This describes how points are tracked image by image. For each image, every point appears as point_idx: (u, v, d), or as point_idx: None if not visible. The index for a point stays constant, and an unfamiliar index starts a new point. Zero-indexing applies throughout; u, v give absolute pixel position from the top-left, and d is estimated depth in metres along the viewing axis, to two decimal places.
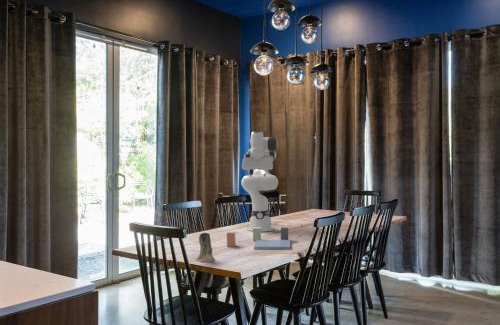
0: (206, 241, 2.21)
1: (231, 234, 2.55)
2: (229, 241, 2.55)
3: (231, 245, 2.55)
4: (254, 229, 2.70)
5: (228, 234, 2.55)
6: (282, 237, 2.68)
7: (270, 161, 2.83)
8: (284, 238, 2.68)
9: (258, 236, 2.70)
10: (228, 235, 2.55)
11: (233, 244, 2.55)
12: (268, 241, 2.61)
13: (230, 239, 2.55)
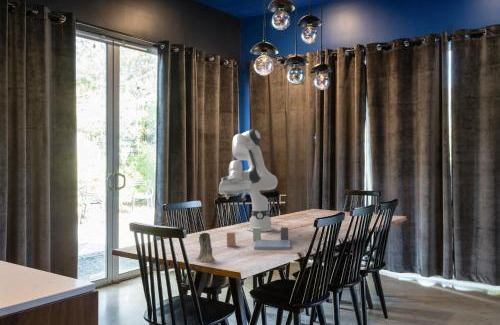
0: (206, 241, 2.21)
1: (231, 234, 2.55)
2: (229, 241, 2.55)
3: (231, 245, 2.55)
4: (254, 229, 2.70)
5: (228, 234, 2.55)
6: (282, 237, 2.68)
7: (248, 183, 2.72)
8: (284, 238, 2.68)
9: (258, 236, 2.70)
10: (228, 235, 2.55)
11: (233, 244, 2.55)
12: (268, 241, 2.61)
13: (230, 239, 2.55)
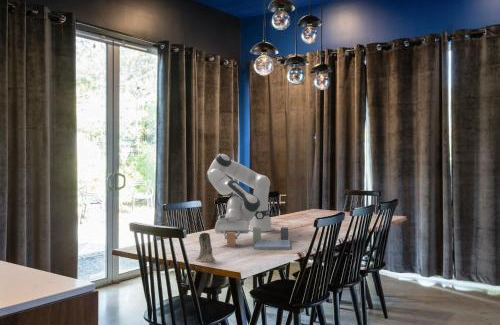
0: (206, 241, 2.21)
1: (231, 234, 2.55)
2: (229, 241, 2.55)
3: (231, 245, 2.55)
4: (254, 229, 2.70)
5: (228, 234, 2.55)
6: (282, 237, 2.68)
7: (246, 223, 2.61)
8: (284, 238, 2.68)
9: (258, 236, 2.70)
10: (228, 235, 2.55)
11: (233, 244, 2.55)
12: (268, 241, 2.61)
13: (230, 239, 2.55)
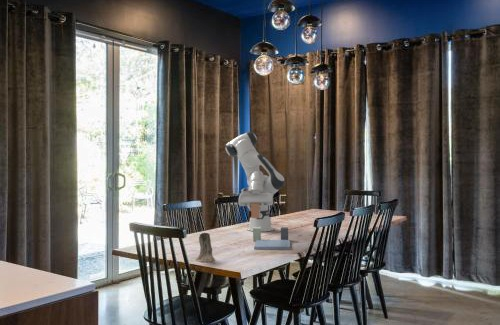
0: (206, 241, 2.21)
1: (255, 205, 2.51)
2: (253, 213, 2.51)
3: (255, 216, 2.51)
4: (254, 229, 2.70)
5: (252, 205, 2.51)
6: (282, 237, 2.68)
7: (270, 195, 2.58)
8: (284, 238, 2.68)
9: (258, 236, 2.70)
10: (252, 206, 2.51)
11: (257, 215, 2.51)
12: (268, 241, 2.61)
13: (254, 210, 2.51)
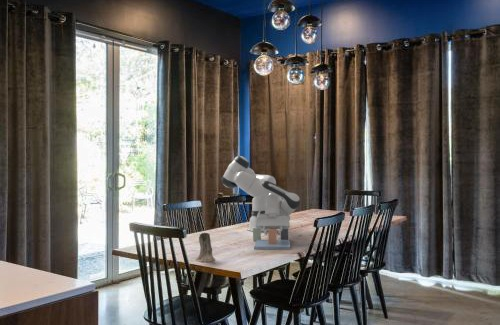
0: (206, 241, 2.21)
1: (273, 231, 2.54)
2: (270, 238, 2.54)
3: (273, 242, 2.54)
4: (254, 229, 2.70)
5: (270, 231, 2.54)
6: (282, 237, 2.68)
7: (286, 218, 2.60)
8: (284, 238, 2.68)
9: (258, 236, 2.70)
10: (270, 232, 2.54)
11: (275, 241, 2.54)
12: (268, 241, 2.61)
13: (272, 236, 2.54)
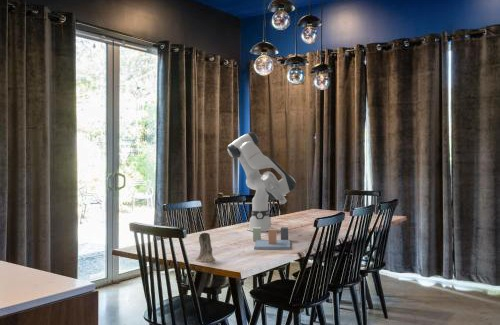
0: (206, 241, 2.21)
1: (273, 231, 2.54)
2: (270, 238, 2.54)
3: (273, 242, 2.54)
4: (254, 229, 2.70)
5: (270, 231, 2.54)
6: (282, 237, 2.68)
7: None
8: (284, 238, 2.68)
9: (258, 236, 2.70)
10: (270, 232, 2.54)
11: (275, 241, 2.54)
12: (268, 241, 2.61)
13: (272, 236, 2.54)
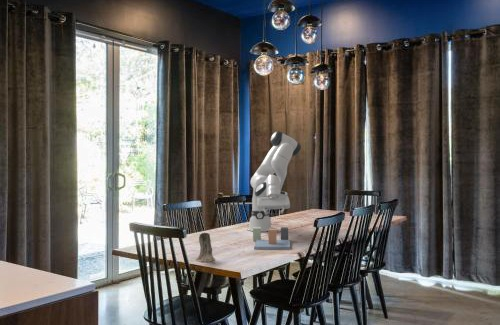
0: (206, 241, 2.21)
1: (273, 231, 2.54)
2: (270, 238, 2.54)
3: (273, 242, 2.54)
4: (254, 229, 2.70)
5: (270, 231, 2.54)
6: (282, 237, 2.68)
7: None
8: (284, 238, 2.68)
9: (258, 236, 2.70)
10: (270, 232, 2.54)
11: (275, 241, 2.54)
12: (268, 241, 2.61)
13: (272, 236, 2.54)
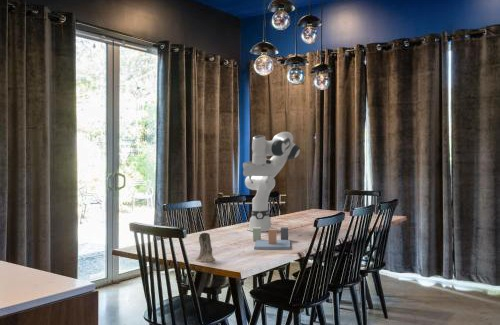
0: (206, 241, 2.21)
1: (273, 231, 2.54)
2: (270, 238, 2.54)
3: (273, 242, 2.54)
4: (254, 229, 2.70)
5: (270, 231, 2.54)
6: (282, 237, 2.68)
7: None
8: (284, 238, 2.68)
9: (258, 236, 2.70)
10: (270, 232, 2.54)
11: (275, 241, 2.54)
12: (268, 241, 2.61)
13: (272, 236, 2.54)
